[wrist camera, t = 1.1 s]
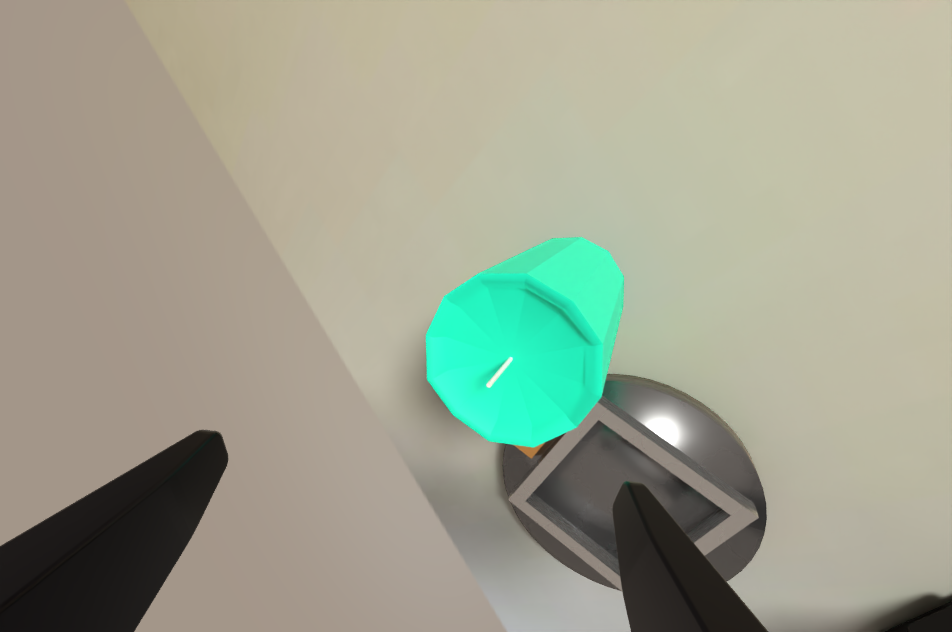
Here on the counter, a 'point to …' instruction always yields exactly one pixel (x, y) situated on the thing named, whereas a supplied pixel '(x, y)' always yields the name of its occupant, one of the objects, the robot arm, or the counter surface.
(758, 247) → the counter surface
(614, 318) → the candle
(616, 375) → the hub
